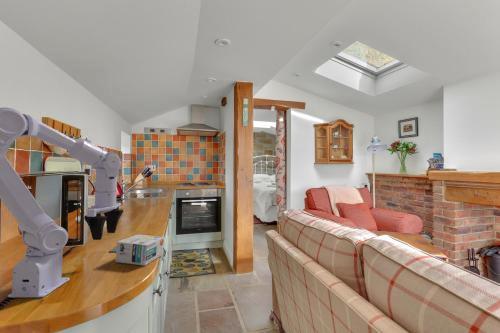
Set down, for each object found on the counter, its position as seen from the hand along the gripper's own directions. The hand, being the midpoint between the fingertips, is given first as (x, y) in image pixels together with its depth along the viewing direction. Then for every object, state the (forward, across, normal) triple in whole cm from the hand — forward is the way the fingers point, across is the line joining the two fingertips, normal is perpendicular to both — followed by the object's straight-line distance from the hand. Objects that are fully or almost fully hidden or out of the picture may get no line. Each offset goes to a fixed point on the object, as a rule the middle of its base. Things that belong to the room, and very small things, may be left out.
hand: (104, 236), depth 76 cm
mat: (+9, -19, -1) cm, 21 cm away
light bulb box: (+6, -9, +3) cm, 11 cm away
